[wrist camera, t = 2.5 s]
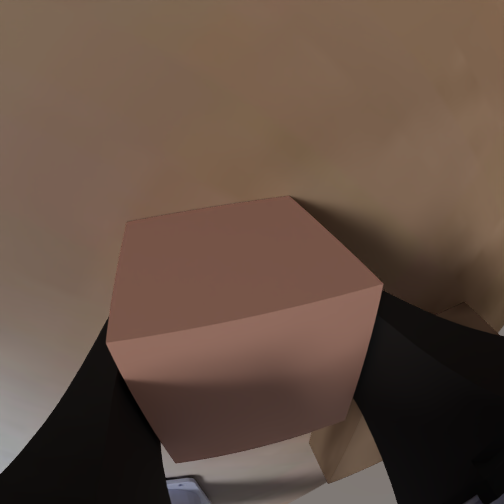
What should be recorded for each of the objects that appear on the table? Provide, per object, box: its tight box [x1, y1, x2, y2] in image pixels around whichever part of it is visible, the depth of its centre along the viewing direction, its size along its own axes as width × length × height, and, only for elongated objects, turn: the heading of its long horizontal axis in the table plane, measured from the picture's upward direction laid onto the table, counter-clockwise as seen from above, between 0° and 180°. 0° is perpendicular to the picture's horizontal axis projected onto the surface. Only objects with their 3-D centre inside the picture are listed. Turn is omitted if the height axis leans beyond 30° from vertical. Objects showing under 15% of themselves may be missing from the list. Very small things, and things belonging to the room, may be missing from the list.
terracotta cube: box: [106, 196, 383, 463], centre depth 8 cm, size 5×5×5 cm
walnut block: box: [309, 302, 499, 484], centre depth 16 cm, size 10×10×4 cm
